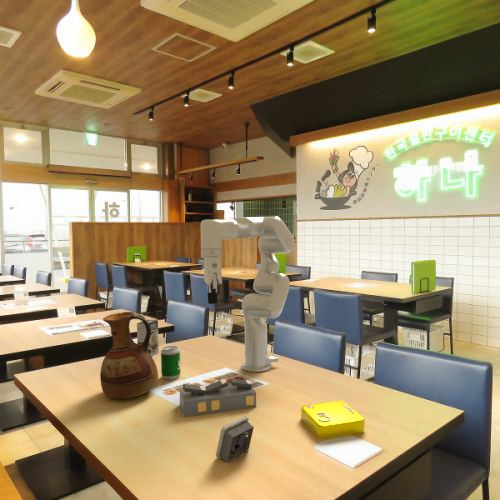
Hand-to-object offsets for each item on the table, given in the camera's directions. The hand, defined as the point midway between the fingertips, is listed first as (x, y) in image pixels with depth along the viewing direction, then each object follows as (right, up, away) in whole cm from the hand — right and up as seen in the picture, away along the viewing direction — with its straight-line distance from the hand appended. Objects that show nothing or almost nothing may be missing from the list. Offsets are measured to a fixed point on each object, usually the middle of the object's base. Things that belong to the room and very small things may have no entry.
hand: (212, 303), depth 156 cm
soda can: (-18, -32, +15) cm, 40 cm away
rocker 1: (-5, -27, -16) cm, 32 cm away
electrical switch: (+10, -35, -45) cm, 57 cm away
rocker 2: (+3, -27, -14) cm, 30 cm away
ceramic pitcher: (-30, -33, -1) cm, 44 cm away
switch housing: (+3, -33, -13) cm, 35 cm away
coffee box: (-35, -31, +46) cm, 66 cm away
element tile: (+38, -34, -28) cm, 58 cm away
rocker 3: (+10, -27, -11) cm, 31 cm away
